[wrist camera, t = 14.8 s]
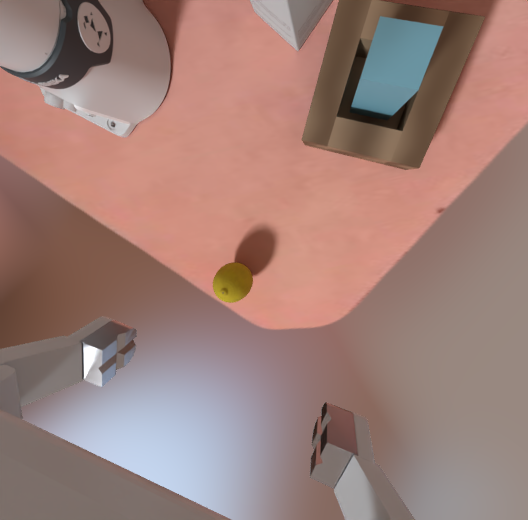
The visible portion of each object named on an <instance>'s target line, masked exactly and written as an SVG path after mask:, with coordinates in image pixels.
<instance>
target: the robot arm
mask: <svg viewBox="0 0 528 520" xmlns="http://www.w3.org/2000/svg"><path fill="white" fill-rule="evenodd" d="M0 67H1V68H2V69H4V70H5V71H7V72H9V73H10V74H12V75H15V76H17V77H19V78H20V79H23V80H25V81H28V82H30V83H33V84H36V85H37V86H39V87H40V89H41V91H42V93H43V95H44V101H45V103H47V104H49V105H52V106H54V107H57V108H61V109H67V110H69V111H71V112H73V113H75V114H77V115H79V116H81V117H83V118H85V119H87V120H89V121H91V122H92V123H94V124H96V125H98V126H100V127H102V128H104V129H106V130H108V131H110V132H112V133H114V134H116V135H118V136H121V137H127V136H129V135H130V133H131V132H132V131H133V129H134V128H135V126H136V125H137V124H138V123H139V122H140V121H142V120H144V119H146V118H148V117H149V116H150V115H152V114H153V113H154V112H155V111H156V110H157V109H158V107H159V106H160V104H161V103H162V101H163V99H164V97H165V95H166V92H167V89H168V85H169V80H170V71H171V63H170V53H169V48H168V44H167V41H166V38H165V35H164V33H163V31H162V28H161V27H160V25H159V23H158V22H157V20H156V19H155V17H154V16H153V15H152V14H151V13H150V11H149V10H148V9H147V8H146V6H145V5H144V3H143V1H142V0H0ZM114 124H115V126H114ZM136 332H137V331H136V329H134V328H132V327H130V326H127V325H125V324H123V323H120V322H118V321H116V320H113V319H110V318H108V317H105V316H103V317H99V318H98V319H96V320H94V321H93V322H91V323H89V324H88V325H86V326H84V327H83V328H81V329H79V330H78V331H76V332H75V333H73V334H71V335H70V336H68V337H66V336H60V337H55V338H51V339H46V340H41V341H36V342H32V343H27V344H22V345H18V346H13V347H8V348H3V349H0V520H231V519H229V518H227V517H225V516H223V515H221V514H219V513H216V512H214V511H212V510H210V509H208V508H206V507H204V506H202V505H200V504H198V503H196V502H194V501H191V500H189V499H187V498H185V497H183V496H181V495H179V494H177V493H175V492H173V491H171V490H169V489H166V488H164V487H162V486H160V485H158V484H156V483H154V482H152V481H150V480H147V479H145V478H143V477H141V476H139V475H137V474H135V473H133V472H131V471H129V470H127V469H124V468H122V467H120V466H118V465H116V464H114V463H112V462H110V461H107V460H106V459H103V458H101V457H99V456H97V455H95V454H93V453H91V452H89V451H87V450H85V449H83V448H81V447H79V446H76V445H74V444H72V443H70V442H68V441H66V440H64V439H62V438H60V437H58V436H56V435H54V434H51V433H49V432H47V431H45V430H43V429H41V428H39V427H37V426H35V425H32V424H30V423H28V422H26V421H24V420H22V419H23V417H22V410H21V407H23V406H25V405H27V404H30V403H32V402H34V401H37V400H39V399H41V398H43V397H46V396H48V395H51V394H53V393H55V392H58V391H60V390H62V389H65V388H67V387H70V386H72V385H74V384H77V383H79V382H81V381H82V380H85V381H87V382H90V383H92V384H95V385H97V386H100V387H103V386H104V385H105V384H106V383H107V382H108V381H109V380H110V379H111V378H113V377H114V376H115V374H116V369H119V368H122V367H124V366H125V365H126V364H127V363H129V361H130V360H131V358H132V357H133V355H134V352H135V349H136V345H135V343H134V340H133V339H134V338H135V337H136V334H137V333H136ZM312 446H313V448H314V452H313V454H312V456H311V467H310V478H312V479H314V480H317V481H319V482H321V483H323V484H325V485H327V486H329V487H331V488H334V492H335V495H336V497H337V500H338V502H339V505H340V507H341V510H342V513H343V515H344V517H345V520H415V519H414V517H413V516H412V514H411V513H410V511H409V510H408V508H407V507H406V505H405V504H404V502H403V500H402V499H401V498H400V496H399V494H398V493H397V491H396V490H395V488H394V487H393V485H392V484H391V482H390V481H389V479H388V478H387V476H386V474H385V473H384V472H383V470H382V468H381V467H380V465H378V464H376V463H375V461H374V455H373V449H372V443H371V438H370V432H369V426H368V420H367V418H366V417H364V416H362V415H359V414H356V413H353V412H351V411H348V410H345V409H342V408H340V407H337V406H335V405H332V404H329V403H327V402H325V403H324V405H323V407H322V410H321V416H320V417H318V418H317V421H316V423H315V426H314V430H313V436H312Z"/></svg>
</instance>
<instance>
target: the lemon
mask: <svg viewBox="0 0 528 520" xmlns="http://www.w3.org/2000/svg"><path fill="white" fill-rule="evenodd" d="M252 283H253V278H252V274H251V271H250V270H249V269H248V268H247V267H246V266H245V265H243V264H241V263H229V264H226V265H225V266H223V267H221V268H220V270H219V271H218V272H217V273H216V275H215V277H214V280H213V289H214V292H215V294H216V296H217V297H218V298H219V299H221V300H222V301H225V302H229V303H231V302H237V301H239V300H241V299H242V298H244V297H245V296H246V295H247V294H248V293H249V291H250V289H251V287H252Z"/></svg>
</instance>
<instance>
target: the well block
mask: <svg viewBox="0 0 528 520" xmlns="http://www.w3.org/2000/svg"><path fill="white" fill-rule="evenodd" d="M380 16H382V17H388V18H394V19H400V20H406V21H412V22H419V23H425V24H431V25H437V26H443V29H442V32H441V34H440V37H439V39H438V42H437V44H436V47H435V49H434V52H433V54H432V57H431V59H430V62H429V65H428V67H427V70H426V72H425V75H424V77H423V80H422V82H421V85H420V87H419V90H418V91H417V92H416V93H415V94H414V95H413V96H412V97H411V98H410V99H409V100H408V101H407V102H406V103H405V104H404V105H403V106H402V107H401V108H400V109H399V110H398V111H397V112H396V113H395V114H394V115H393V116H392V117H390V118H389V119H388V120H383V119H378V118H373V117H369V116H364V115H360V114H355V113H351V112H350V109H351V106H352V102H353V99H354V96H355V93H356V90H357V87H358V84H359V80H360V77H361V74H362V71H363V68H364V65H365V62H366V59H367V55H368V52H369V49H370V46H371V43H372V40H373V37H374V34H375V31H376V28H377V25H378V21H379V18H380ZM484 18H485V17H484V16H477V15H471V14H464V13H458V12H451V11H445V10H438V9H432V8H425V7H419V6H412V5H406V4H399V3H393V2H386V1H380V0H339V3H338V6H337V10H336V14H335V17H334V21H333V25H332V29H331V32H330V36H329V40H328V44H327V47H326V51H325V55H324V58H323V62H322V66H321V70H320V73H319V77H318V81H317V85H316V88H315V92H314V96H313V99H312V103H311V107H310V111H309V114H308V118H307V122H306V126H305V129H304V133H303V137H302V141H303V143H304V144H305V145H306V146H311V147H315V148H319V149H323V150H327V151H331V152H335V153H339V154H343V155H347V156H352V157H356V158H360V159H364V160H368V161H372V162H376V163H380V164H384V165H388V166H393V167H397V168H401V169H405V170H408V169H417V168H420V165H421V163H422V161H423V158H424V156H425V154H426V152H427V149H428V147H429V145H430V142H431V140H432V138H433V135H434V133H435V131H436V129H437V126H438V124H439V122H440V119H441V117H442V115H443V113H444V110H445V108H446V106H447V103H448V101H449V99H450V96H451V94H452V92H453V90H454V87H455V85H456V83H457V80H458V78H459V76H460V73H461V71H462V69H463V67H464V64H465V62H466V60H467V57H468V55H469V53H470V51H471V48H472V46H473V44H474V41H475V39H476V37H477V34H478V32H479V30H480V28H481V25H482V23H483V21H484Z"/></svg>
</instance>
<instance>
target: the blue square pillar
mask: <svg viewBox="0 0 528 520" xmlns="http://www.w3.org/2000/svg"><path fill="white" fill-rule="evenodd" d="M442 29H443V26H437V25H431V24H425V23H419V22H412V21H406V20H400V19H394V18H388V17H382V16H380V18H379V21H378V25H377V28H376V31H375V34H374V37H373V40H372V43H371V46H370V49H369V52H368V55H367V59H366V62H365V65H364V68H363V71H362V74H361V77H360V80H359V84H358V87H357V90H356V93H355V96H354V99H353V102H352V106H351V109H350V112H351V113H355V114H360V115H364V116H369V117H373V118H378V119H383V120H388V119H389V118H390V117H392V116H393V115H394V114H395V113H396V112H397V111H398V110H399V109H400V108H401V107H402V106H403V105H404V104H405V103H406V102H407V101H408V100H409V99H410V98H411V97H412V96H413V95H414V94H415V93H416V92H417V91H418V90H419V87H420V85H421V82H422V80H423V77H424V75H425V72H426V70H427V67H428V65H429V62H430V59H431V57H432V54H433V52H434V49H435V47H436V44H437V42H438V39H439V37H440V34H441V32H442Z"/></svg>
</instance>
